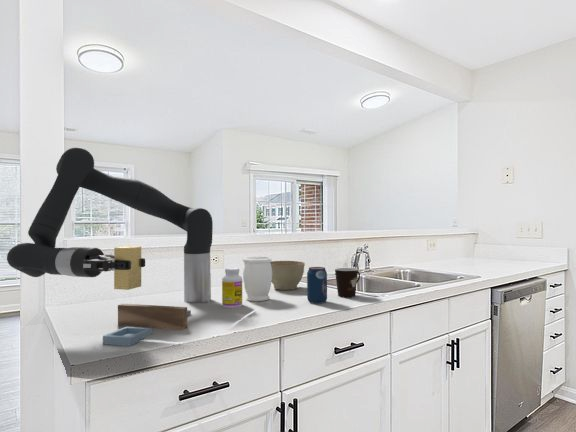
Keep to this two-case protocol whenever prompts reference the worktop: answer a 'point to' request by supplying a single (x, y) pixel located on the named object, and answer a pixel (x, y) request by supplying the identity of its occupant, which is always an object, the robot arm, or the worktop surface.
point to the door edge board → (152, 316)
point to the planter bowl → (286, 274)
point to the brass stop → (128, 277)
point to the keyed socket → (126, 336)
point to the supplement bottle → (232, 288)
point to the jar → (257, 278)
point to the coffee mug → (346, 281)
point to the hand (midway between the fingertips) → (137, 263)
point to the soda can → (317, 285)
